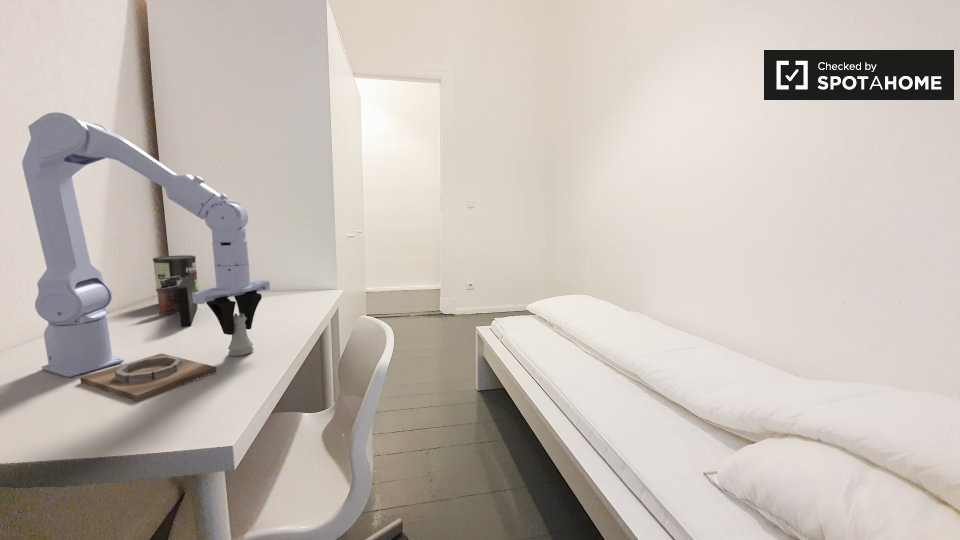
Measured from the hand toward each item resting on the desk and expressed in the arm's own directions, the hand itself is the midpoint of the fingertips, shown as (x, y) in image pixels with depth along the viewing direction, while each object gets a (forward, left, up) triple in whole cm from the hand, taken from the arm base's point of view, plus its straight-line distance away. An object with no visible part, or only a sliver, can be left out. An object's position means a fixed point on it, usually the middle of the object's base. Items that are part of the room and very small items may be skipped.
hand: (237, 331), depth 79 cm
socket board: (-3, -14, -5) cm, 15 cm away
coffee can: (-57, +22, -5) cm, 61 cm away
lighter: (-46, +14, -5) cm, 48 cm away
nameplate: (-37, +13, -5) cm, 40 cm away
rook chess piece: (0, 0, -5) cm, 5 cm away
